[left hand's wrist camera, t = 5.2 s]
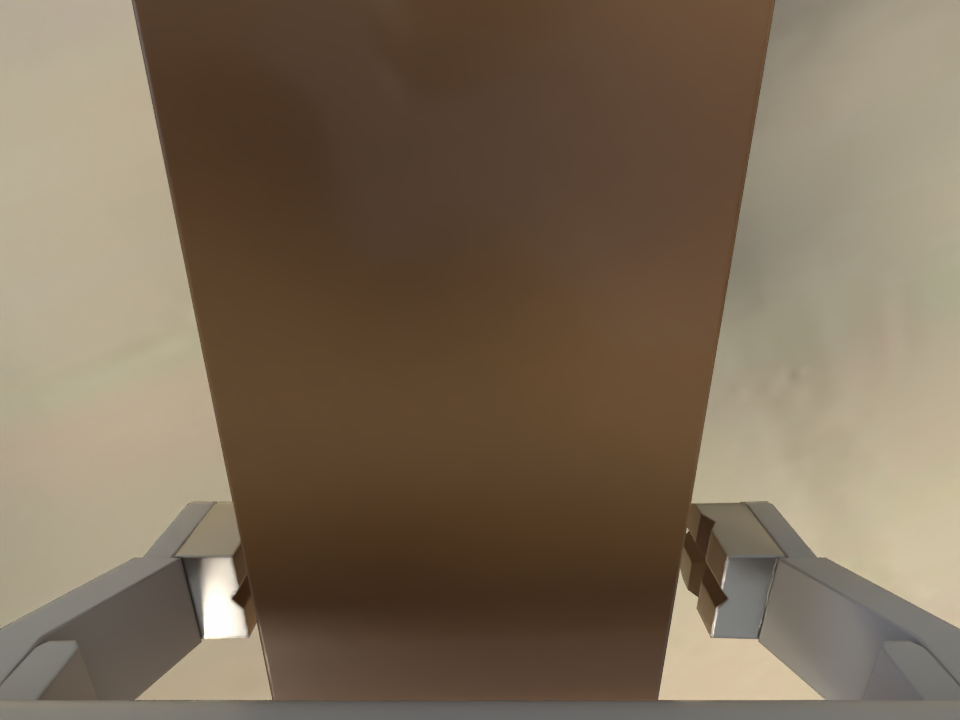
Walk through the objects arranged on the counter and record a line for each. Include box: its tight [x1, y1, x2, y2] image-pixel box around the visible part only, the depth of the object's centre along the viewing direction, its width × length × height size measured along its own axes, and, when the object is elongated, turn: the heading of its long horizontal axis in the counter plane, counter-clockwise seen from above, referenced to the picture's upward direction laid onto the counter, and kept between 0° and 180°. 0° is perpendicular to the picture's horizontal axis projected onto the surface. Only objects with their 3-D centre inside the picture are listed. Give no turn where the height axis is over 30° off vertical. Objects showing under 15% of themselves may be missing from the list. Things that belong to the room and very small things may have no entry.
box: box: [132, 0, 775, 700], centre depth 11 cm, size 21×6×13 cm, turn 0°
